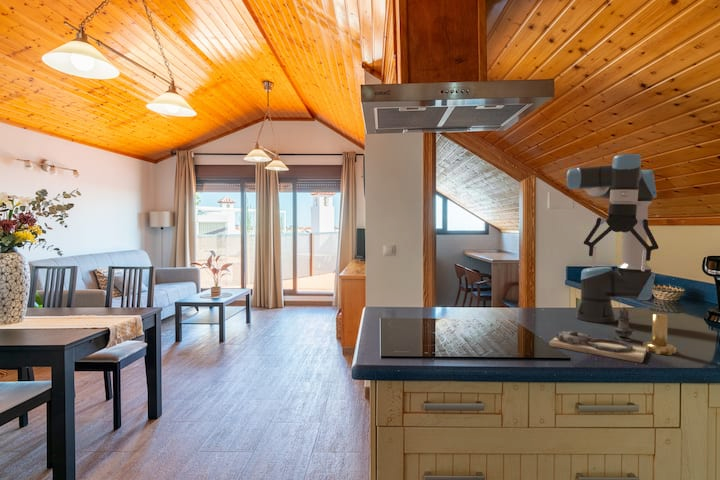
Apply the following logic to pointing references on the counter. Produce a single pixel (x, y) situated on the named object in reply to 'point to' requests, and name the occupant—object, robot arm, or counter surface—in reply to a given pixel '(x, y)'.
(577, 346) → the gear board
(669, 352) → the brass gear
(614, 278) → the robot arm
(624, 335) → the stone chess piece
